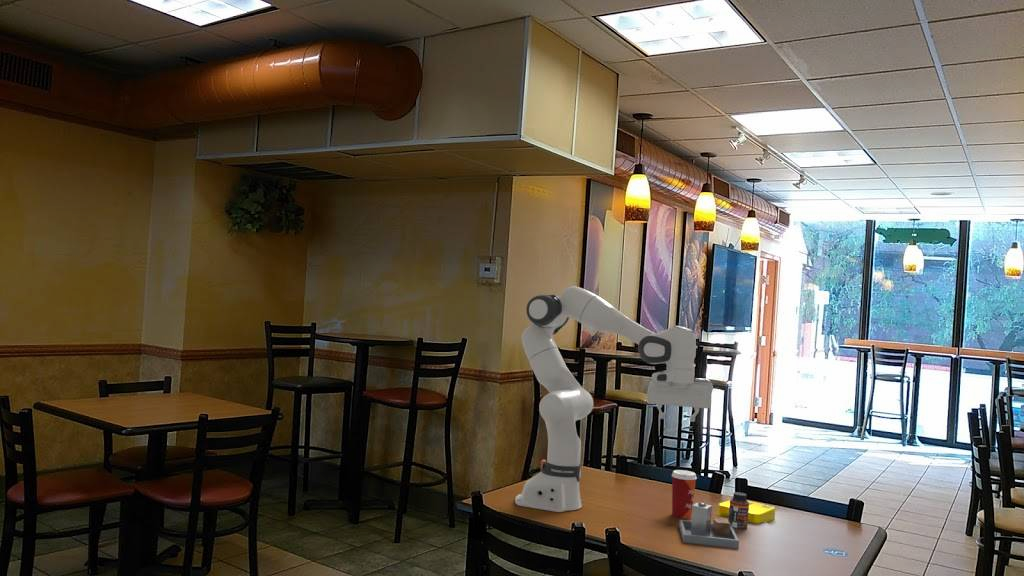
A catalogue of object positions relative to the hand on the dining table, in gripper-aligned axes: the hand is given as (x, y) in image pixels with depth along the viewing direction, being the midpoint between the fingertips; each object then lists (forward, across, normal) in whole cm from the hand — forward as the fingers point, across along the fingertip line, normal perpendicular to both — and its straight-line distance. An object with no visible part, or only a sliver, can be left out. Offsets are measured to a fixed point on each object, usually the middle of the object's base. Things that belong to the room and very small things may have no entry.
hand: (677, 420), depth 237 cm
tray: (+33, -10, +13) cm, 37 cm away
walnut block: (+32, -14, +9) cm, 36 cm away
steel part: (+32, -8, +12) cm, 35 cm away
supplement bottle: (+33, -21, -2) cm, 39 cm away
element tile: (+34, -26, -18) cm, 46 cm away
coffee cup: (+33, -4, -8) cm, 34 cm away
